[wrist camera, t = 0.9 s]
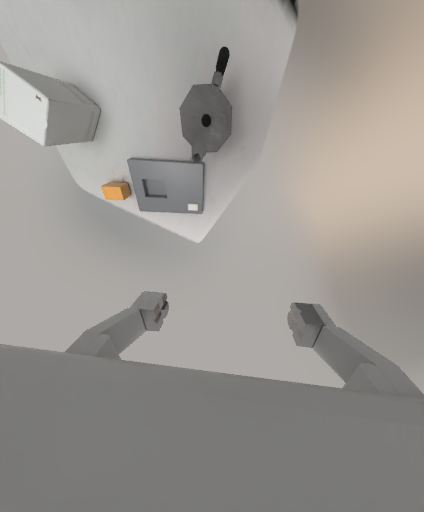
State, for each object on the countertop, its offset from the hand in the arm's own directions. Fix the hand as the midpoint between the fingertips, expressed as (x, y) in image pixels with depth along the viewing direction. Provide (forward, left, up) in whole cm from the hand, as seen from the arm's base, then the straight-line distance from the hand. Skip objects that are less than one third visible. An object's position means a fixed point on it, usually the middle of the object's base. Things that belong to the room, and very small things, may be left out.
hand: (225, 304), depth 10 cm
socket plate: (+5, -13, -44) cm, 46 cm away
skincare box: (-10, -32, -44) cm, 56 cm away
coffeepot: (-11, -2, -44) cm, 46 cm away
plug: (+6, -28, -44) cm, 52 cm away
